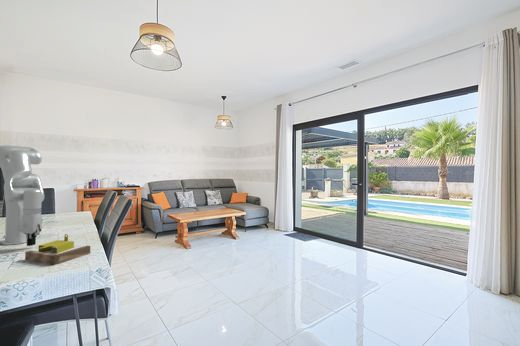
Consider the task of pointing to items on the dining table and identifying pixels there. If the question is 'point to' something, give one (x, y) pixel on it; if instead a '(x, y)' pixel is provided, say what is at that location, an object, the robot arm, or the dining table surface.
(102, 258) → the dining table surface
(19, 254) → the dining table surface
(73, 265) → the dining table surface
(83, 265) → the dining table surface
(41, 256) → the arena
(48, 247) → the bracket
